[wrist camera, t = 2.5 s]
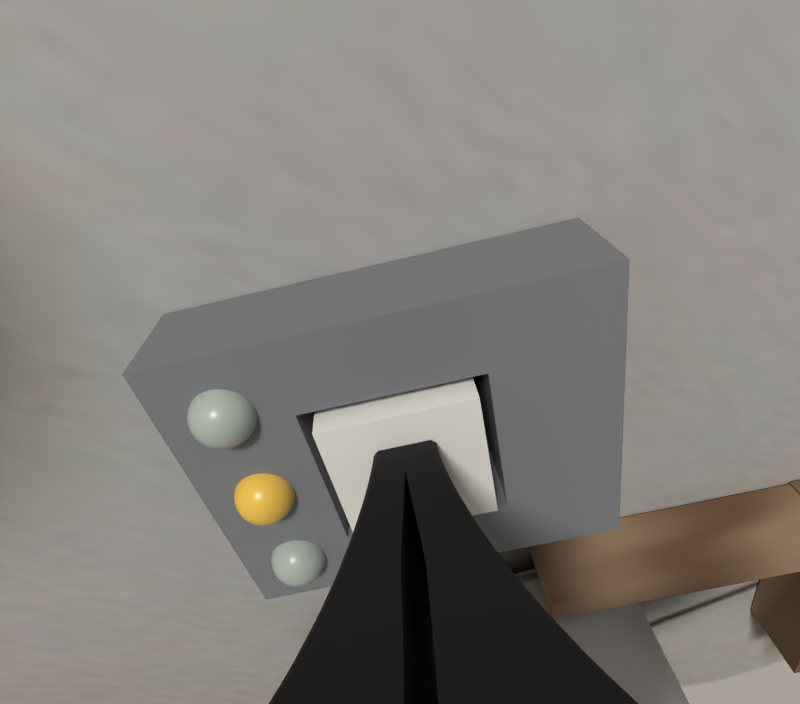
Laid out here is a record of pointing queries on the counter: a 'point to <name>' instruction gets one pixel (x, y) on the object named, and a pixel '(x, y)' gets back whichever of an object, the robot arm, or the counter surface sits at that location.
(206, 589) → the counter surface
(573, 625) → the can
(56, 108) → the counter surface
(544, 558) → the lockout bracket
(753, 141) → the counter surface
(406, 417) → the block
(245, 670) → the counter surface
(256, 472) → the panel
